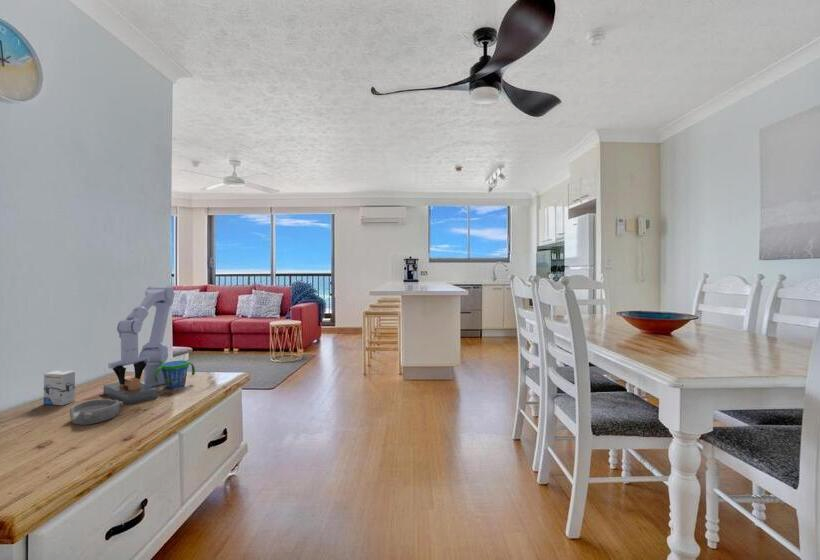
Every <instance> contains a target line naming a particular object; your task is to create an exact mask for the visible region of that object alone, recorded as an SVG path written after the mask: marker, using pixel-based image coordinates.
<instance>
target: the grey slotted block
mask: <svg viewBox="0 0 820 560" xmlns="http://www.w3.org/2000/svg"><path fill="white" fill-rule="evenodd" d="M142 383H143V382H140V389H135V390H131V391H130V390H128V387H123V388H122V387H120V383H119V381H118V382H112V383H108V384H103V394H104V395H106V396H108V397H111V398H112V399H114V400H118V401H119V402H120V401H122V402H123V404H126V405H133V404H137V403H141V402H147V401H149V400H153V399H157V398H158V388H156V387H154V386H151V387H150V386H148V385H145V384H142Z"/></svg>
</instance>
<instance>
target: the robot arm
mask: <svg viewBox="0 0 820 560" xmlns="http://www.w3.org/2000/svg"><path fill="white" fill-rule="evenodd" d="M174 300H175V290H174V288H173V287H172V286H171V285H170V286H152V285H151V286H148V287H147V288H146V290H145V297H144V298H143V300H141V303H140V305H139V306H136V307H134V308H133V309H132V310H131V312H130V313H129V314H128V315H127V316H126V317H125V319H122V320H120V321H119V322H118V323H117V327H116V330H117V333H118V337H119V338H120V359H119V360H117V361H113V362H108V364H107V365H108V366H107V367H108V369H112V370H113V372H114V373H115V375H116V377H117V380H118V382H119V383H120V384H122V385H123V384H125V376H126V375H125V374H126V370H127V368H126V367H125V366H129V365H133V370H134V378H138V379H140V380H141V378H142V375H143V382H141V383H142V384H145V385H148V386H150V387H155V386H160V385H164V384H165V381H164V375H163V372H162V369H160V370H159V371H158V372H157V380H158V382H156V381H155V378H154V376H155V372H156V370H157V369H158V368H159V367H160V366H161V365H162V364H163V363H166V362H167V360H168V357H169V353H168V352H169V351H168V350H169V347H168V346H167V345H166V344H165V343H164V338H165V332H166V328H167V323H168V317H169V314H170V313H169V312H170V307H172V306H173V303H174ZM151 307H155V309H156V310H155V313H154V316H153V317H154V318H153V322H152V323H153V324H152V327H151V331H150V336H149V341H148V342H146V343H145V344H144V345H143V346H141V347H142V348H141V350H140V352H139V333H140V332H141V331H142V327H143V324H144V323H143V322H144V321H145V319H146V318H147V317H148V315H149V310H150V309H151Z"/></svg>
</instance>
